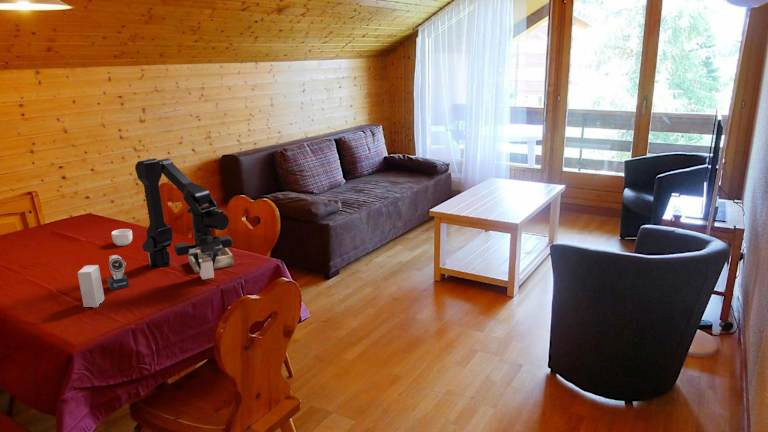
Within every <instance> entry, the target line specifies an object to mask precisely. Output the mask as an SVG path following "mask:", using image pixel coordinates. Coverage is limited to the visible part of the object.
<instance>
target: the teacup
mask: <svg viewBox="0 0 768 432" xmlns="http://www.w3.org/2000/svg"><path fill="white" fill-rule="evenodd" d="M111 239H112V242H113V244H115V245H117V246H118V247H119V246H120V247H121V246H128V245H129V244H130V243H131V242H132V241H133V231H132V229H129V228H120V229H115V230H113V231H112V232H111Z"/></svg>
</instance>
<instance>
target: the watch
mask: <svg viewBox="0 0 768 432" xmlns="http://www.w3.org/2000/svg"><path fill="white" fill-rule="evenodd" d="M108 258H109V260H108V261H109V262H108V267H109V270H110V273H111V275H112V276H110V277H107V278H106V279H107V280H106V281H107V284H108V285H107V286H108V288H109V289H110V291H112V290H113V291H116V290H120V289H125V288H129V287H130V285H129V277H127V275H126V274H124V272H125V269H126V268H125V267H126V265H127V263H126V262H125V260H123V259H122V257H121V256H119V255H118V254H115V255H109V256H108Z"/></svg>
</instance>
